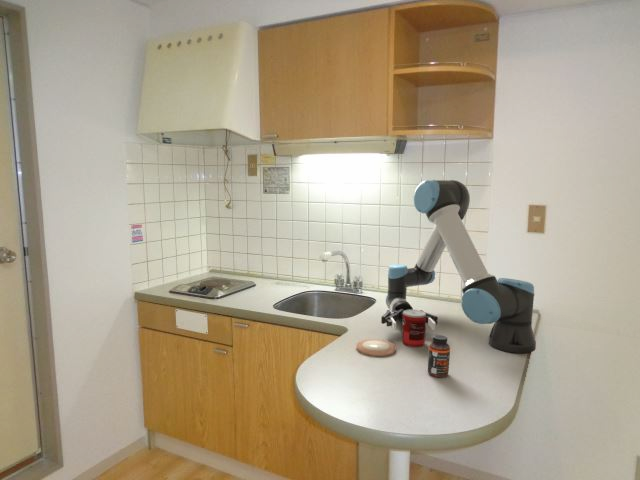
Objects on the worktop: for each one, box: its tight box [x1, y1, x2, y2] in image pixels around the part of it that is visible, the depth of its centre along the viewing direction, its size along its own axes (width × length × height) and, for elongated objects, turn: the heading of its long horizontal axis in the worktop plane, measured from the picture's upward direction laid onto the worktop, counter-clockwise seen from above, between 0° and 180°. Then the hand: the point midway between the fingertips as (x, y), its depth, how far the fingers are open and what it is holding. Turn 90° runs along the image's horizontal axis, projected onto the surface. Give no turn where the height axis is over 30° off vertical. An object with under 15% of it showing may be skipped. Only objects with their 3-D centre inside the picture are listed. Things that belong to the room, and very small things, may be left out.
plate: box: [355, 338, 397, 357], centre depth 156 cm, size 13×13×1 cm
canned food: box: [401, 309, 427, 348], centre depth 161 cm, size 8×8×11 cm
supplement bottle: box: [427, 334, 451, 378], centre depth 136 cm, size 6×6×11 cm
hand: (414, 326), depth 159 cm, fingers open, 13 cm apart
